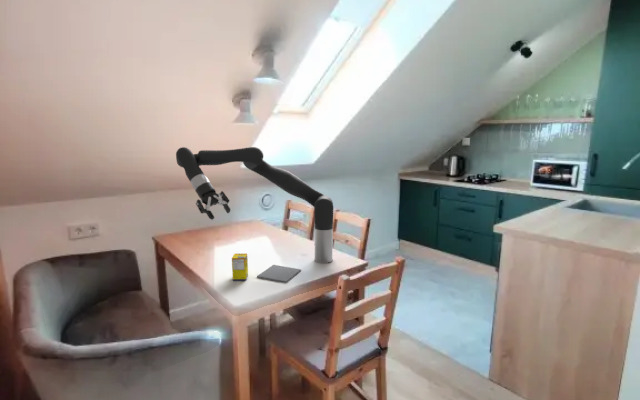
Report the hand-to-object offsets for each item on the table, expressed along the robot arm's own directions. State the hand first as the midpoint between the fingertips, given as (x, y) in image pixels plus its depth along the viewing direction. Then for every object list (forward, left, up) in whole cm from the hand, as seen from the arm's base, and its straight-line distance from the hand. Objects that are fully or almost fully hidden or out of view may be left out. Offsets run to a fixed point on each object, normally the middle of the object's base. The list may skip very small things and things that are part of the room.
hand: (221, 215), depth 164 cm
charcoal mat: (-12, +22, -29) cm, 38 cm away
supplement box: (-1, +8, -29) cm, 30 cm away
